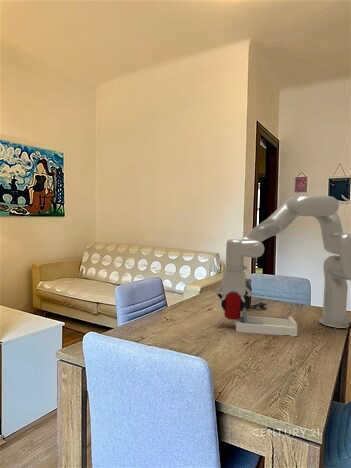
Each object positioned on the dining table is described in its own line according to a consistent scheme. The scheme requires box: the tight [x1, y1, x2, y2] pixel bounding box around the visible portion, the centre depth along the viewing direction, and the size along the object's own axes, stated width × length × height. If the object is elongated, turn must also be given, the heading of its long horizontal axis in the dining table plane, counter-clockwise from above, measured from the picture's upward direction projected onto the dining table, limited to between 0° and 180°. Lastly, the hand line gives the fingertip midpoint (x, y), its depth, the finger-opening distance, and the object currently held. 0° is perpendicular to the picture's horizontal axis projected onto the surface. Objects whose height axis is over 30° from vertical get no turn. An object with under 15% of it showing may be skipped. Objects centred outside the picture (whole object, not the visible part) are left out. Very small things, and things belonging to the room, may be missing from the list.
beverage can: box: [224, 291, 242, 321], centre depth 138 cm, size 7×7×12 cm
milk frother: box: [243, 277, 267, 310], centre depth 171 cm, size 14×16×15 cm
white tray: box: [234, 315, 298, 337], centre depth 137 cm, size 24×12×5 cm, turn 83°
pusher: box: [241, 307, 263, 325], centre depth 137 cm, size 8×9×7 cm
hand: (232, 309), depth 138 cm, fingers closed on beverage can, 6 cm apart
